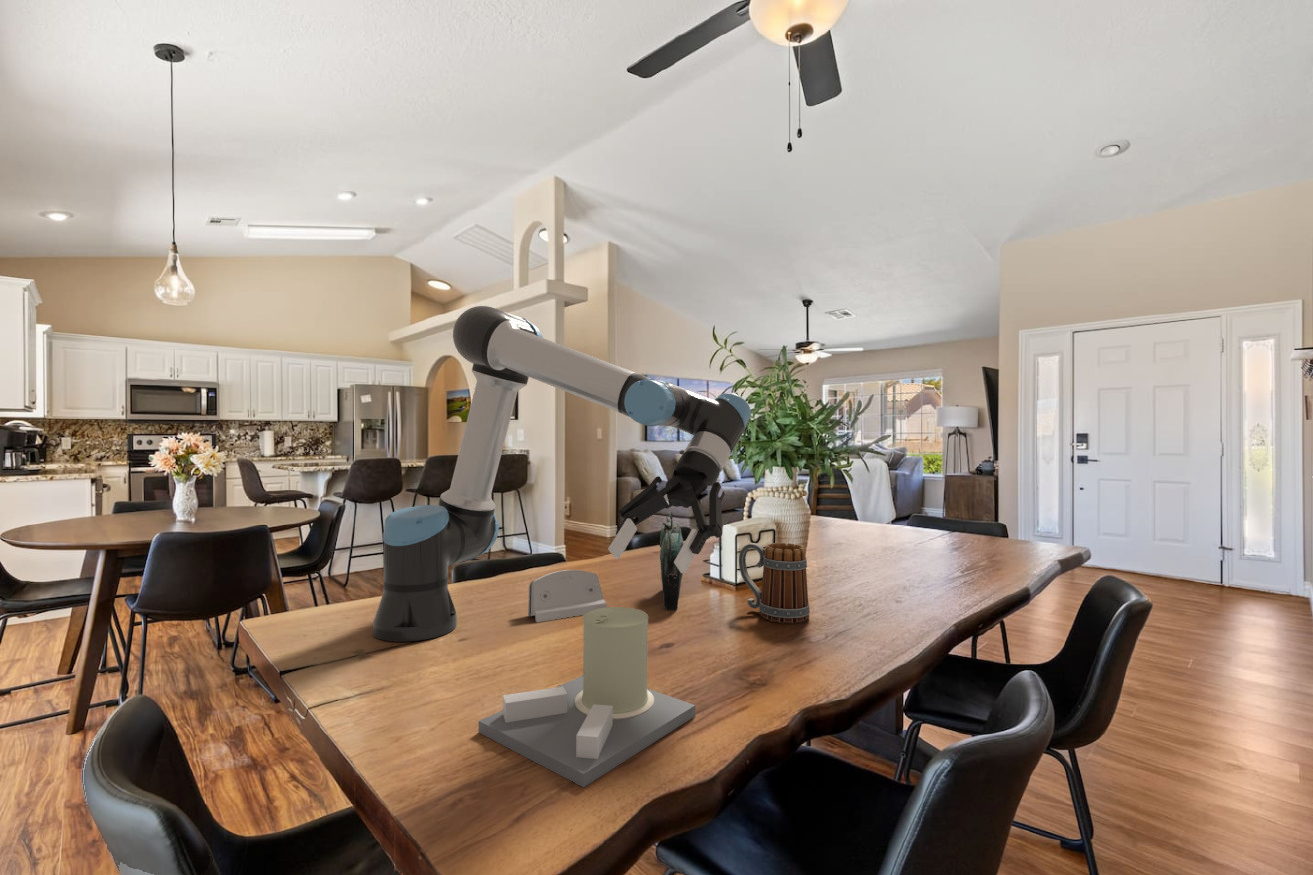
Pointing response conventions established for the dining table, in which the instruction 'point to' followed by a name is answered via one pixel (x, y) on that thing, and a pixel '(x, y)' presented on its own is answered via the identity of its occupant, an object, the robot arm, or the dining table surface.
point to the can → (615, 658)
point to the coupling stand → (580, 729)
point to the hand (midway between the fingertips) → (644, 561)
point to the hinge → (564, 595)
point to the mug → (779, 582)
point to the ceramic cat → (670, 562)
